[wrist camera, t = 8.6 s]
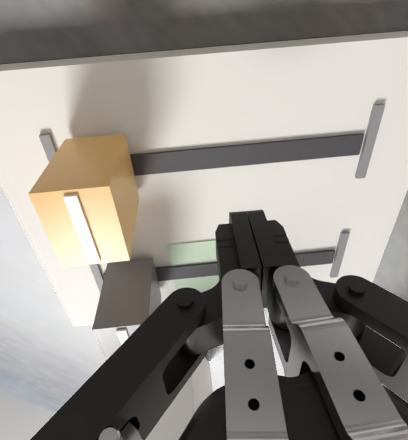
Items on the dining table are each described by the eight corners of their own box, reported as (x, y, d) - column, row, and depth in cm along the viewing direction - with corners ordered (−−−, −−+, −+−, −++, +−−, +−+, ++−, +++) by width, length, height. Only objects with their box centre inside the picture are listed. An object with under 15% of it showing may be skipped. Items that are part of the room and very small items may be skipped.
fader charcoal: (153, 257, 25) (148, 325, 20) (161, 295, 27) (158, 363, 22) (107, 261, 25) (91, 331, 20) (120, 299, 27) (109, 369, 22)
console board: (442, 27, 19) (471, 32, 17) (357, 280, 32) (368, 298, 30) (-37, 67, 18) (-60, 77, 16) (78, 309, 31) (72, 329, 30)
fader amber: (125, 133, 19) (108, 188, 14) (139, 198, 21) (129, 262, 16) (65, 139, 19) (26, 195, 14) (86, 203, 21) (61, 269, 16)
